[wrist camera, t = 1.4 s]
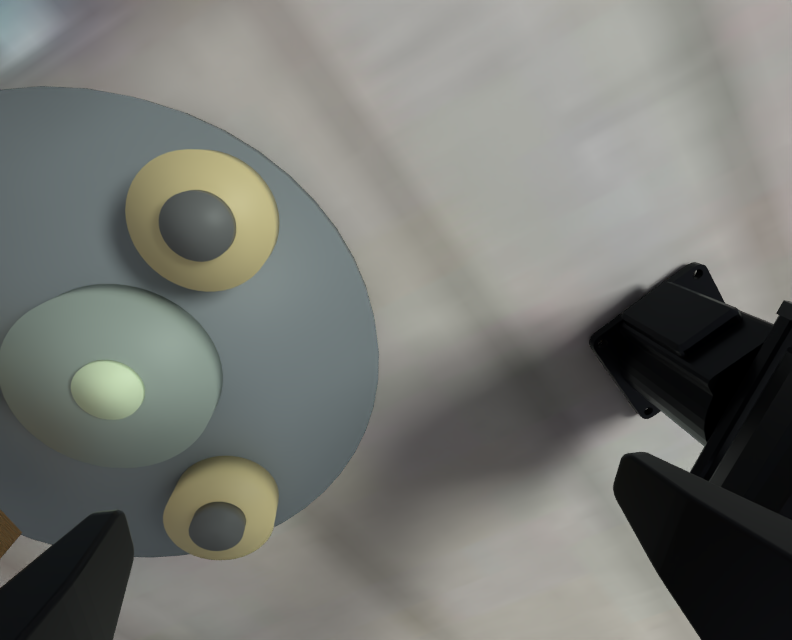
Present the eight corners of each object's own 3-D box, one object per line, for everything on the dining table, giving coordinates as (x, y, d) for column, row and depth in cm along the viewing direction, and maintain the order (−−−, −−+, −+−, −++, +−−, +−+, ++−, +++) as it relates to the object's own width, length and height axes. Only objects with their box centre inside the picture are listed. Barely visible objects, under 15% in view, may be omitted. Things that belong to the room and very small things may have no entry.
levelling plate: (464, 371, 22) (484, 407, 19) (168, 595, 25) (144, 659, 22) (85, -61, 14) (12, -121, 11) (-270, 345, 18) (-404, 387, 14)
